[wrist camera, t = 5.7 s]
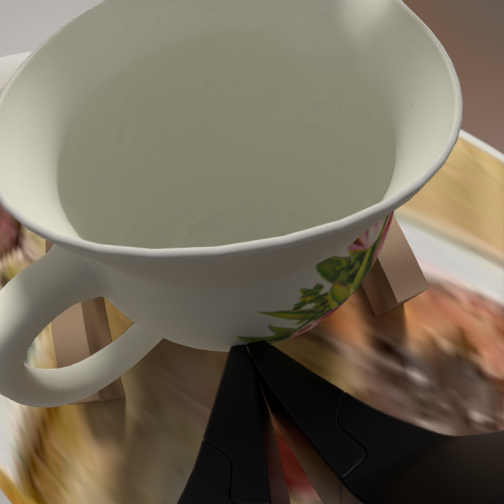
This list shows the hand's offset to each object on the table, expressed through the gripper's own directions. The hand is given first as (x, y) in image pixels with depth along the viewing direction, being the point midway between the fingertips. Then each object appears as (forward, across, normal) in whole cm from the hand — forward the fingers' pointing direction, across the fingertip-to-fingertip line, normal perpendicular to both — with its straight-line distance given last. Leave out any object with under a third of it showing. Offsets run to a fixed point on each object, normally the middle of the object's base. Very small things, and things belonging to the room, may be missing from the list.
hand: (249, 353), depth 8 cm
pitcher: (+9, 0, +2) cm, 9 cm away
